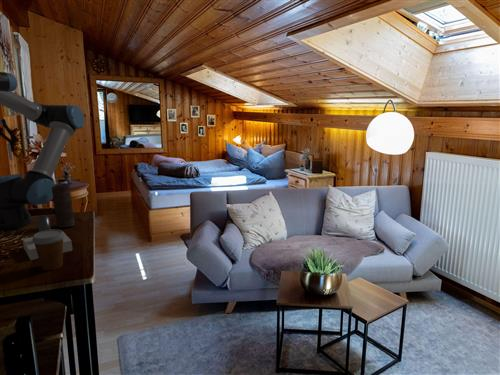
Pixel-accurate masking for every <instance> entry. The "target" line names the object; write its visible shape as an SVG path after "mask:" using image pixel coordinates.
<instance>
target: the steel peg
mask: <svg viewBox="0 0 500 375" xmlns="http://www.w3.org/2000/svg"><path fill="white" fill-rule="evenodd" d="M36 220H37V227H38V232H41V231H45V230H52V227H51V226H52V225H51V220H50V216H49V215H42V216H38V217H37V218H36Z"/></svg>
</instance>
